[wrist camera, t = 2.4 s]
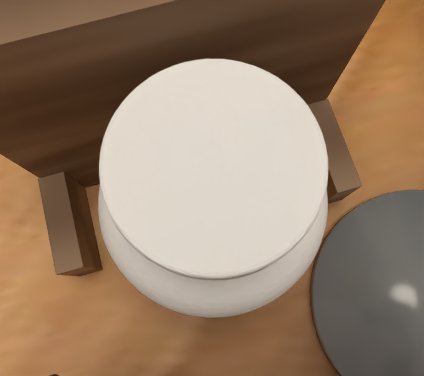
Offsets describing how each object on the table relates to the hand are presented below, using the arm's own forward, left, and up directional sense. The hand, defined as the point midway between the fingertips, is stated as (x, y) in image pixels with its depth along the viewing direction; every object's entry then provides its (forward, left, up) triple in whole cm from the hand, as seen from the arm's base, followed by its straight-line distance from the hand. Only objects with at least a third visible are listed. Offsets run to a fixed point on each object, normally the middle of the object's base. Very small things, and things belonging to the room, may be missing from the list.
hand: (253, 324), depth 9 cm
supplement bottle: (+1, +3, -11) cm, 11 cm away
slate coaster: (+7, -6, -11) cm, 14 cm away
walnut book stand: (+3, +6, -11) cm, 13 cm away
